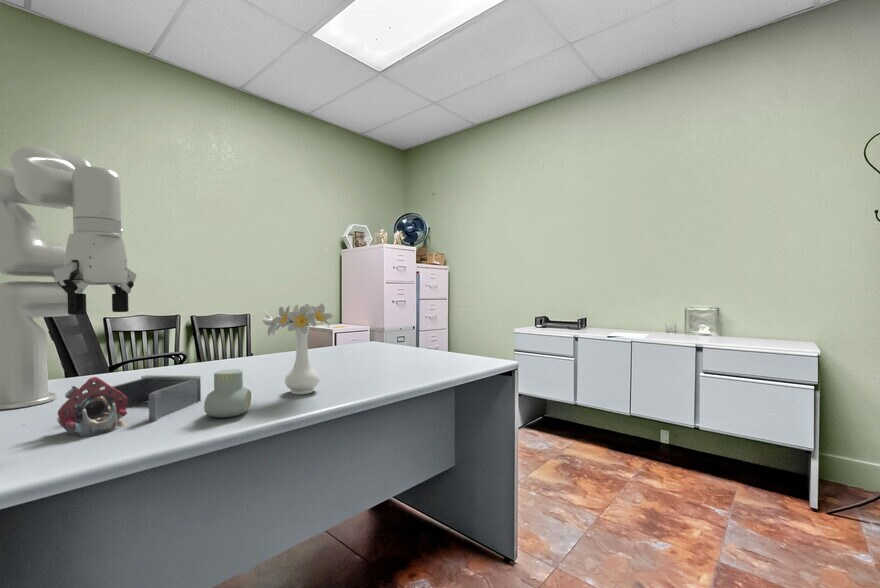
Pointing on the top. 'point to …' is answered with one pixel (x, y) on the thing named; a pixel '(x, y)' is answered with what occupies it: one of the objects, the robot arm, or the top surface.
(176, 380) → the bracket
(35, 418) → the top surface
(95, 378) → the red and grey figure
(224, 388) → the grey rounded piece
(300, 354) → the flower vase
